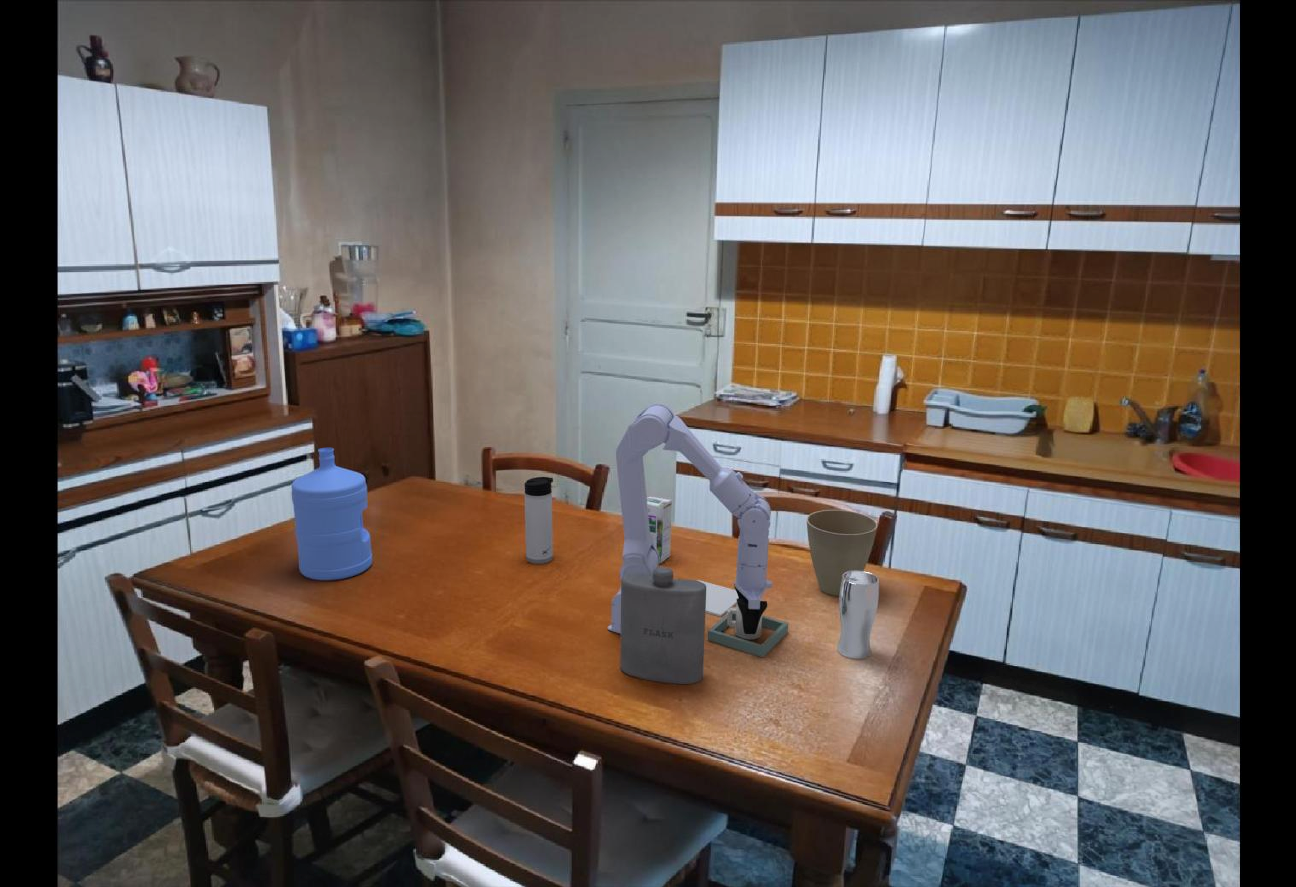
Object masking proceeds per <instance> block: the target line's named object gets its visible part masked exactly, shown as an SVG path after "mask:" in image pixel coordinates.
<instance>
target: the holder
mask: <svg viewBox="0 0 1296 887" xmlns="http://www.w3.org/2000/svg"><path fill="white" fill-rule="evenodd" d="M732 621H736V614H732ZM728 627H729V625H727V614H725V615H723V616H722V618H721V619H719V621H717V622H716V623H715V624H714V625H712V627H710V628H709V629H708V630H707V641H709V642H712V643H715V644H718V645H722V646H725V647H729V648H732V649H735V650H738V651H741V652H744V653H747V654H750V655H754V656H757V657H760V658H764V657H765V656H767V655H768V653H769V652H770V651H771V650H772V649H773V648H774V647H775V646H776V645H777V644H778V643H779V642H780V641H781V640H782V639H783V638H784V637H785V635H787V634H788V632H789V622H786V621H782V620H780V619H776V618H772V617H769V616H766V615H763V614H762V627H761V628H765V629H768V630H772V631H774V632H772V634H771V635H770V636H769V637H767V639H766V640H765V641H764V642H763V643H762V644H761V643H757V642H754V641H751V640H748V639H743V638H740V637H738V636H734V635H730V634H727V633H724V631H725V630H726V629H727V628H728Z"/></svg>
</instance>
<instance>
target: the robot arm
mask: <svg viewBox="0 0 1296 887" xmlns="http://www.w3.org/2000/svg"><path fill="white" fill-rule="evenodd" d="M662 444H664V446H663V447H662V450H665V451H671V452H672V451H673V452H674V451H675V452H679V453H680V454H682V455H683V457H684V458H686V459H687V461H689V462H690V463H691V464H692V465H693V466H694V467H695V468H696V469H697V470H698V471H699V472H700V473H701V474H702V475H703V476H704V477H706V479H708V481H709V491H710V492H711V493H712V494H713V495H714V497H716V499H717V500H718V501H719V502H720V503H721V504H722V505H723V506H724V507H725V508H726V509H727V510H728V511H729V512H730V513H731V514H732V515H733V516H735V517H736V518H738V519H737V526H738V528H739V536H738V538H737V539H738V540H737V555H736V557H737V558H736V575H735V580H734V583H733V587H734V590H736V592H737V594H738V598H737V604H736V605H738V607H739V609H740V611H741V614H742V621H743V629H744V633H745V634H755V633H756V631H757V628H758V624H759V621H760V618H761V616H762V615H763V614H764V613H765V611H766V610H767V608H768V601H767V600H761V598H763V595H764V594H765V592H766V590H768V589H772V588H773V583H772V581H771V580H767V576H768V575H767V574H768V572H767V571H768V561H769V560H768V559H769V558H768V557H769V544H770V541H769V540H770V539H769V535H770V530H769V529H770V526H771V513H772V511H771V506H770V503H769V502H768V501H767V498H765V497H763V496H761V495H760V494H759V492H758V491H757V492H754V491H753V490H752V488H751V487H750V486H749V485H747V483H746V482H745V481H744V480H743V477H744V474H742V473H741V472H740V471H738V472H736V471H734V469H733V468H726V467H722V466H721V465H720V464H719V462H718V461H717V460H716V459H715V458H714V456H712V454H711V453H710V452H709V451H708V450H707V448H706V447H705V446H704V445H703V443H702V442H701V441H700V440H699V439H698V438H697V436H695V434H694V433H693V432H692V431H691V429H689V427H688V426H687V425H686V424H685V422H684V421H683V419H682V418H680V417H679V416H677V415H674V413H673V411H672V410H671V409H670V408H669V406H667V405H665V404H663V403H652V404H651V405H649V406H647V407H646V408H645V409H644V410H643V411H641V412H640V413H639V414H638V415H637V416H636V418H635V419H634V420H633V421H632V423H630V424H629V425H628V426H627V428H626V431H625V433H624V435H623V437H622V439H621V440H620V442H619V443H618V445H617V447H616V450H615V459H616V460H615V461H616V470H617V478H618V488H619V489H618V490H619V495H620V496H619V497H620V506H621V507H620V508H621V517H622V526H623V535H624V543H623V550H622V564H621V567H620V569H619V579H620V580H621V579H622V577H623V576H625V575H627V574H631V573H641V574H646V575H651V576H653V570H654V569H656V568H658V567H659V565H660V564H659V562H660V556H659V553H658V551H657V550H656V548H655V546H654V542H653V537H652V536H651V534H650V528H649V517H648V507H647V498H648V496H647V489H646V488H647V487H646V478H645V468H644V457H645V455H646V454H647V453H648V452H649V451H651V450H653V449H655V448H657V447H659V446H661V445H662ZM610 613H611V615H610V616H611V617H610V618H611V624H610V625H608V626H607V629H608V631H611V632H614V633H616V634H620V635H621V587H620V588H619V590H618V592H617V594H615V595H613V597H612V600H611V612H610Z"/></svg>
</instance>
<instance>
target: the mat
mask: <svg viewBox="0 0 1296 887" xmlns="http://www.w3.org/2000/svg"><path fill="white" fill-rule="evenodd" d="M697 581H700V582H702V583H704V584H705V585H706V612H705V614H709V615H713V616H716V617H719V618H721V617H722V618H723V617H724V616H725V615H726V613H728V609H730V608H734V607H735V606H736V605H737V598H738V594H737V592H736V590H735V589H733V588H728V587H725V586H722V585H718V584H714V583H710V582H706V581H703V580H701V579H697Z"/></svg>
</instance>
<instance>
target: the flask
mask: <svg viewBox="0 0 1296 887" xmlns="http://www.w3.org/2000/svg"><path fill="white" fill-rule="evenodd" d="M697 580H698V579H697ZM697 580H695V579H685V578H684V579H683V578H680V579H678V578H674V570H673V569H671V568H670V567H668V566H657V568H656V569H654V570H653V576H651V575H646V574H641V573H631V574H627V575H625V576H623V577H622V579H620V588H621V634H620V655H619V656H620V666H619V668H620V670H621V672H623V673H624V674H626V675H629V676H631V677H634V678H637V679H640V680H641V679H642V680H646V681H651V682H657V683H663V684H664V683H665V684H676V685H693V684H697V683H699V682H700V681H702V680H703V678H704V660H705V659H704V656H705V636H706V635H705V634H706V613H705V612H706V585H705V584H704V583H702V582H700V581H701V580H700V581H697Z"/></svg>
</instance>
